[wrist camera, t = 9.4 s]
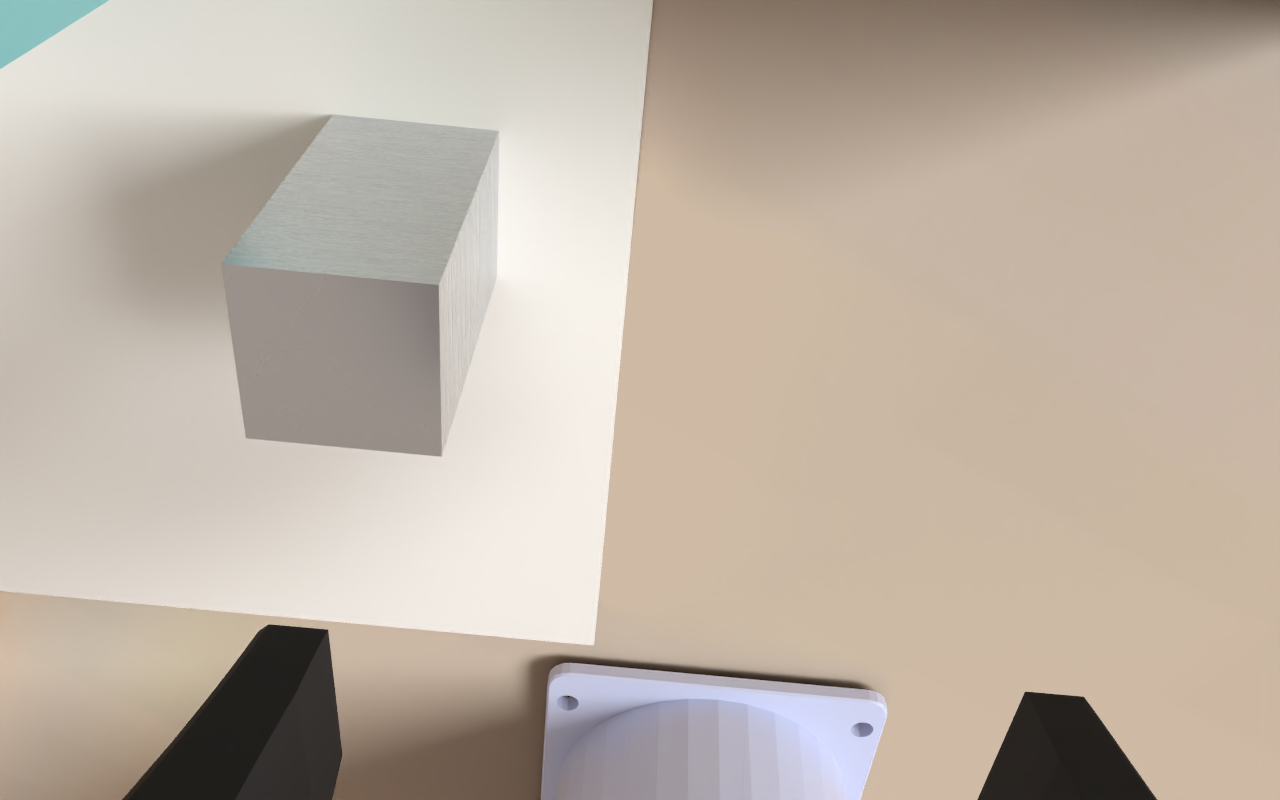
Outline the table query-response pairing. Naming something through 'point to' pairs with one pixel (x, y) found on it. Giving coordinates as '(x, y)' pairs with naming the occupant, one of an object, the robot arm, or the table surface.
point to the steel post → (366, 286)
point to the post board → (200, 330)
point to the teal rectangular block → (36, 23)
